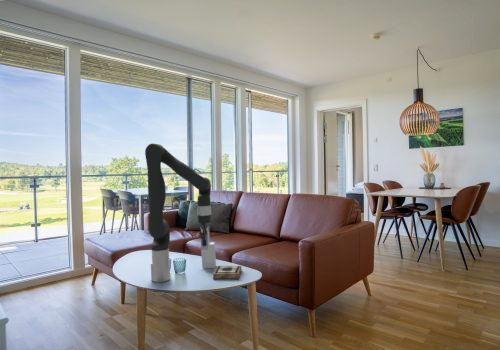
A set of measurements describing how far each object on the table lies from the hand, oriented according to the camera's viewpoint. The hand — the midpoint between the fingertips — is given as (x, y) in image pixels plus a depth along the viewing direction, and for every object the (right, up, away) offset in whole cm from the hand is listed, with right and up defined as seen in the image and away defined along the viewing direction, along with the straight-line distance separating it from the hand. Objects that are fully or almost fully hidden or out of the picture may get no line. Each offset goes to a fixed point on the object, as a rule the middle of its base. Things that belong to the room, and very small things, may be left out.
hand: (205, 244), depth 181 cm
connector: (0, -2, 0) cm, 2 cm away
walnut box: (+12, -19, +6) cm, 23 cm away
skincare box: (-1, -19, +22) cm, 29 cm away
